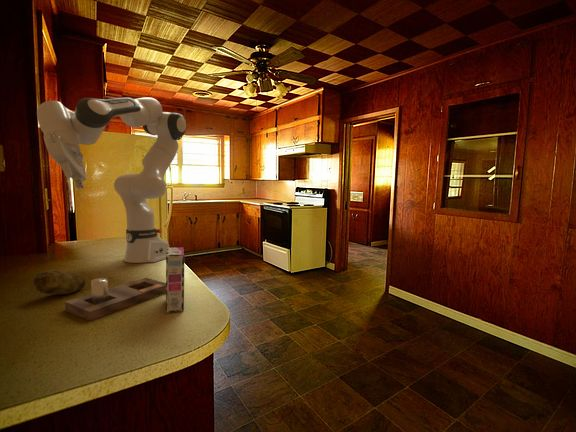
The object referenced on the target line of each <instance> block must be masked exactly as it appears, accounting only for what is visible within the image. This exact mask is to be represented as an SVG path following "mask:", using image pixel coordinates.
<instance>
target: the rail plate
mask: <svg viewBox="0 0 576 432" xmlns="http://www.w3.org/2000/svg"><path fill="white" fill-rule="evenodd" d="M165 292H166V282H163V281H160V280H157V279H152V278H150V277H142V278H140V279H137V280H133V281H130V282H126V283H123V284H119V285H116V286H113V287H108V300H109V301H106V302H103V303H100V304H97V305H94V304H92V296H91V293H89V294H86V295H83V296H79V297H75V298H73V299H69V300H66V301H64V309H65V311H66V312H68V313H71V314H73V315H75V316H78V317H79V318H82V319H84V320H87V321H90V322H91V321H93V320H96V319H99V318H101V317H104V316H108V315H109V314H112V313H115V312H118V311H120V310H123V309H125V308H129V307H131V306H135V305H137V304H139V303H143V302H146V301H147V299H148V300H150V298H151V299H154V298H156V297H158V296H157V295H159V296H161V295H163V294H162V293H164V294H166V293H165ZM160 294H161V295H160ZM155 296H156V297H155ZM142 301H143V302H142Z"/></svg>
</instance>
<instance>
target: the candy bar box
mask: <svg viewBox="0 0 576 432" xmlns="http://www.w3.org/2000/svg"><path fill="white" fill-rule="evenodd" d="M184 252H185V251H184V246H183V247H182V246H179V247H178V246H175V247H170V248H167V252H166V259H165V283H166V293H165V313H167V312H170V313H176V312H175V311H180V312H184V310H185V308H184V307H185V253H184Z"/></svg>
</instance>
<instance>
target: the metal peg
mask: <svg viewBox="0 0 576 432" xmlns="http://www.w3.org/2000/svg"><path fill="white" fill-rule="evenodd" d="M108 289H109V279H108V278H107V277H100V278H99V277H98V278H94V279H91V280H90V292H91V293H90V294H91V296H92V304H94V305H97V304H100V303H103V302H106V301H109V300H108Z"/></svg>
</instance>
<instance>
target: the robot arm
mask: <svg viewBox="0 0 576 432" xmlns="http://www.w3.org/2000/svg"><path fill="white" fill-rule="evenodd" d="M36 116H37V117H36V118H37V121H38V125H39V127H40V130H41V132H42V133H43V141H44V144H45V147H46V150H47V153H48V154H49V155H50V156H51V158H52V159H53V160H54V161H55V162H56V163H57V164H58V166H60V168H61V170H62V171H63V174H64V176H65V177H66V178H67V179H70V178H71V179H72V181H74V183H75V187H76V189H77V190H82V189H84V183H83V182H85V181H86V180H87V174H86V170H85V169H86V168H85V166H84V162H83V160H84V156H83V154H82V152H81V151H82V150H81V147H80V145H87V146H88V145H94V144H95V143H96V142H98V140H99V139H100V137H101V135H102V134H103V133H104V130H105V128H106V127H107V125H108V124H109V123H110V121H111V120H112V119H113V118H116V117H120V120H121V121H122V122H123V123H124V124H125V125H127V126H129V127H130V128H135V129H136V128H141V127H142V129H143V130H144V132H145V133H146V134H148V135H151V136H157V138H156V140H155V142H154V143H153V144H152V145H151V147H150V149H148V151H147V152H146V154H145V155H144V156H143V158H142V160H141V164H142V166H143V169H142V171H141V172H140V173H126V174H123V175H119V176H117V178H115V180H114V183H113V188H114V190H115V192H116V193H117V194H118V196H120V199H121V201H122V202H123V205H124V209H125V214H126V229H125V239H126V247H125V249H126V250H125V254H124V258H123V262H125V263H131V264H132V263H133V264H139V263H140V264H143V263H156V262H160V261H163V260H166V252H167V248H171V247H170V244H169V242H167V241H166V240H165V239H163V238H162V237H160V236H159V235H158V234H161V233H162V232H163V230H162V228H155V213H154V210H153V209H152V208H151V207H150V206H149V204H148V202H147V200H155V199H158V198H162V197H163V196H164V195H165V194H166V190H167V183H166V181H165V179H164V178H165V174H166V172H167V170H168V169H169V167H170V166H171V163H172V162H173V161H174V159H175V157H176V155H177V153H178V151H179V147H180V146H179V142H178V141H180V140H182V138H183V136H184V135H185V134H186V131H187V128H188V123H187V119H186V118H185V116H184V115H182V114H181V113H177V112H168V111H163V107H162V104H161V103H160V101H158V100H157V99H156V98H153V97H148V96H147V97H138V98H132V97H116V98H115V97H114V98H104V99H103V98H102V99H101V98H95V97H94V98H93V97H84V98H81V99H80V100H78V101H77V103H76V107H75V110H74V111H72V110H71V109H69V108H67V107H66V106H64V105H63V103H61V102H60V101H57V100H47V101H44V102H42V103H40V104H39V105H38V107H37V109H36Z"/></svg>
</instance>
